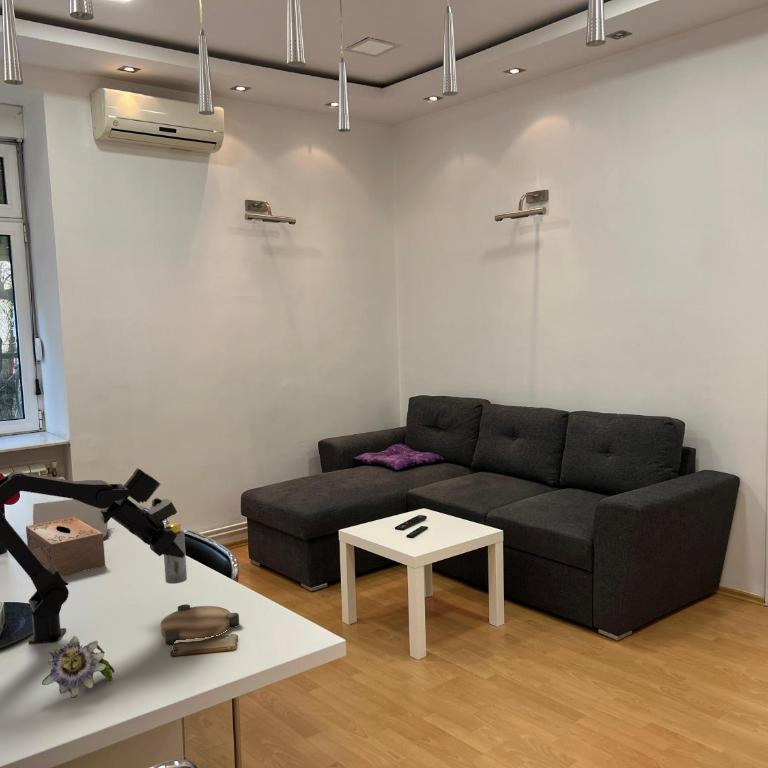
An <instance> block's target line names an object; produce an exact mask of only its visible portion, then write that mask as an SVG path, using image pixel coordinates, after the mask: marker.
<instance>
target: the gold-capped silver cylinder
mask: <svg viewBox="0 0 768 768" xmlns="http://www.w3.org/2000/svg"><path fill="white" fill-rule="evenodd" d="M165 528H169V529H170V530H171V531H173V532H174V533H175V534H176V535H177V536H176V538H175V540H174V542H175V543H176V544H177V545H178V547H179V548H180V549H181V550H182V551H183V553H184V554H185V555H184V557H183V558H180V557H175V556H169V555H163V564H164V576H165V577H164V579H165V581H164V582H165V583H166V584H173V585H174V584H180V583H183V582H186V581H187V580H188V576H187V575H188V574H187V560H186V559H187V558H186V557H187V555H186V542H185V541H186V540H185V539H186V538H185V531H184V530H182V529H181V528H182V527H181V523H178V522H177V523H176V522H175V523H173V522H172V523H169V524H166V525H165Z"/></svg>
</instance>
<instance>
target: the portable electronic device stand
mask: <svg viewBox="0 0 768 768" xmlns="http://www.w3.org/2000/svg"><path fill="white" fill-rule="evenodd" d="M32 506H33V507H32V508H33V509H32V521H33V522H32V525H35V524H40V523H44V522H49V521H54V520H59V519H64V518H69V517H75V518H77V519H79V520H81V521H82V522H84V523H86V524H88V525H89V526H91V527H93V528H95V529H96V530H98V531H100V532H102V533H103V539H104V538H106V537H107V534H108V525H109V524H108V522H109V521H108V522H107V523H104V522H103V521H102V520H101V512H100V511H101V510H105V509H107V508H105V509H100V508H97V507H94V506H91V505H88V504H85V503H82V502H80V501H78V500H75V499H71V498H70V499H64V500H56V501H55V500H54V501H48V502H47V501H46V502H39V503H34V504H33V505H32Z"/></svg>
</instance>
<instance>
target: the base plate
mask: <svg viewBox="0 0 768 768" xmlns="http://www.w3.org/2000/svg"><path fill="white" fill-rule="evenodd" d="M238 625H239V626H240V614H239V613H238V612H231V611H229V610H228V609H227V608H225V607H222V606H215V605H200V606H198V605H197V606H191V605H190V604H180V605H179V606H177V610H176V611H174V612H172V613H170V614H168V615H167V616H165V617H164V618H163V619H162V620H161V623H160V631H161V636H162V637H163V638H164V639H165V644H166V645H168V646H173V644H174V642H175V641H176V640H186V639H195V638H205V637H211V636H216V635H219V634H221V633H223V632H225V631H226V630H228V629H229V628H230V627H234V628H236V627H235V626H237V627H239V626H238ZM230 629H231V628H230ZM230 629H229V630H230ZM229 630H228V631H229ZM226 632H227V631H226ZM226 632H225V633H226ZM223 634H224V633H223Z"/></svg>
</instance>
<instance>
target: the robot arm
mask: <svg viewBox="0 0 768 768" xmlns="http://www.w3.org/2000/svg"><path fill="white" fill-rule="evenodd" d="M159 487H161V483H160V482H159V481H158V480H157V479H155V478H153V476H151V475H149V474H148V473H146V472H144V471H143V470H142V469H140V468H139V467H138V468H136V469H135V470H134V471H133V473H132V475H131V476H130V477H129V479H128V480H127V481H126V482H125V483H124V484H122V483H108V482H107V481H104V480H103V479H102V480H101V479H95V480H94V479H92V480H91V479H90V480H89V479H87V480H69V479H68V480H67V479H62V478H56V477H51V476H43V475H37V474H31V473H26V472H23V471H20V470H14V471H11V472H10V473H9V474H8V475H7V474H6V476H4V477H2V478H0V507H1V506H2V505H4V504H5V503H7V502H8V501H9V500H10V499H12V497H13V498H14V496H15V495H16V494H18V493H20V492H27V493H31V494H38V495H39V494H40V495H45V496H52V497H59V498H64V499H65V498H66V499H70V500H71V499H75V500H78V501H80V502H82V503H85V504H88V505H91V506H94V507H97V508H100V509H105V508H107V509H105V510H101V511H100V512H101V520H102V521H103V522H104V523H107V522H109V521H110V520H111V519H113V520H114V521H115V522H117V523H118V524H119V525H121V526H122V527H123V528H125V529H126V530H127V531H128V532H129V533H130V534H132V535H134V536H135V537H137V538H139V539H140V540H141V541H142V543H144V544H146V545H148V546H149V548H150V550H151V551H152V552H154V554H156V555H157V556H159V557H161V556H164V555H169V556H175V557H180V558H183V557H184V555H185V554H186V553H185V554H184V553H183V551H182V550H181V549H180V548H179V547H178V545H177V544H176V543H175V542H174V540H175V538H176V536H177V535H176V534H175V533H174V532H173V531H171V530H170V529H169V528H166V527H165V524H164V523H163V522H164V521H166V520H167V519H168V518H170V517H172V516H174V515H176V514H177V513H178V510H177V509H176V507H175V504H173V502H172V501H171V500H170V499H169V498H163V499H160V498H159V497H155V498H153V499H152V500H151V506H150V509H148V510H146V509H144V508H141V507H139V505H137V504H135V503H134V501H136V502H137V503H138V504H140V503H142V504H144V503H147V501H148V500H149V499H150V498H151V497H152V496H153V494H155V493H156V491H157V490H158V489H159ZM129 497H130V498H131V499H133V500H134V501H131V500H130V499H129ZM0 543H1V545H2V546H3V547H4V548H5V549H6V550H7V552H9V554H10V555H11V557H13V559H14V560H15V561H16V562H17V563H18V565H19V566H20V567H21V568H22V569H23V570H24V572H25V574H27V576H28V577H29V578H30V580H31V582H32V584H33V586H34V587H35V590H36V591H35V592H34V593H33V595H31V597H30V598H29V599H28V603H29V605H30V608H31V610H32V612H31V619H32V621H31V622H32V630H33V631H32V632H33V635H32V636H31V637H30V639H29V640H28V641H27V642H28V644H40V643H41V644H42V643H56V642H58V641H59V640H60V638H62V637H63V635H64V634H65V633H66V631H67V628H66V627H64V628H61V620H60V619H61V618H60V613H61V610H62V605H64V604H65V603H66V602H67V600H68V598H69V593H70V592H69V588H68V587H67V586H68V585H69V582H68V581H67V579H66V578H65V575H64V576H63V575H61V574H59V572H58V570H57V569H56V567H55V566H54V565H52V566H51V567H50V568H47V567H46V566H45V565H43V564H42V563H41V562H40V560H39V559H38V558H37V557H36V556H35V554H34V553H33V552H32V551H31V549H30V548H29V547H28V545H27V542H25V540H24V539H23V538H22V537H21V535H19V533H18V532H17V530H15V529H14V527H13V526H12V525H11V523H10V522H9V521H8V520H7V518H6V517H5V515H4V512H3V510H2V509H1V508H0Z"/></svg>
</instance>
